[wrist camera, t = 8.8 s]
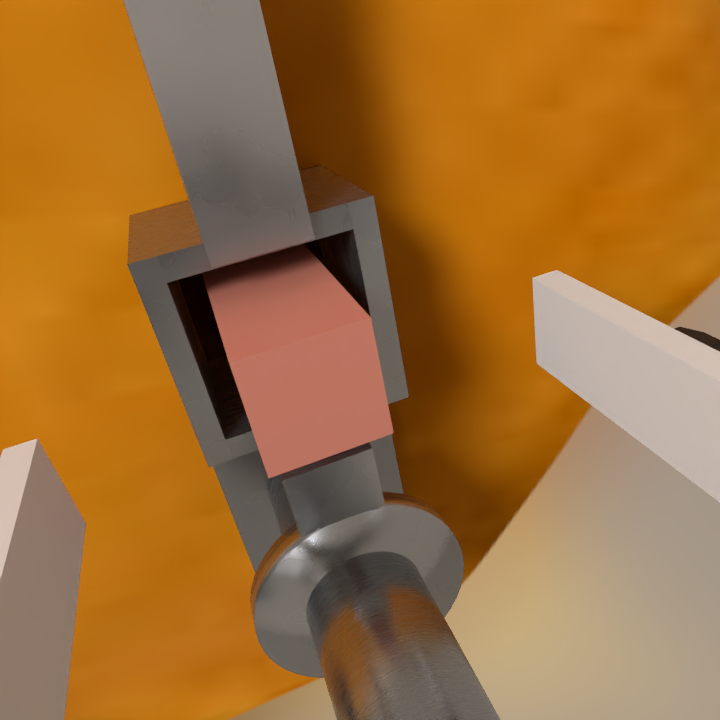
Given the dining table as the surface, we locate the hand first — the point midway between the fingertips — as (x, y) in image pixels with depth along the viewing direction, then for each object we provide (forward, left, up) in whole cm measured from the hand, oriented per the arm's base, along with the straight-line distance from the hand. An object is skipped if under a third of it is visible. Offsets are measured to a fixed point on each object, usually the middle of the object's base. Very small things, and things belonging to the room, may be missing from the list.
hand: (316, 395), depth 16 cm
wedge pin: (0, 0, -10) cm, 10 cm away
